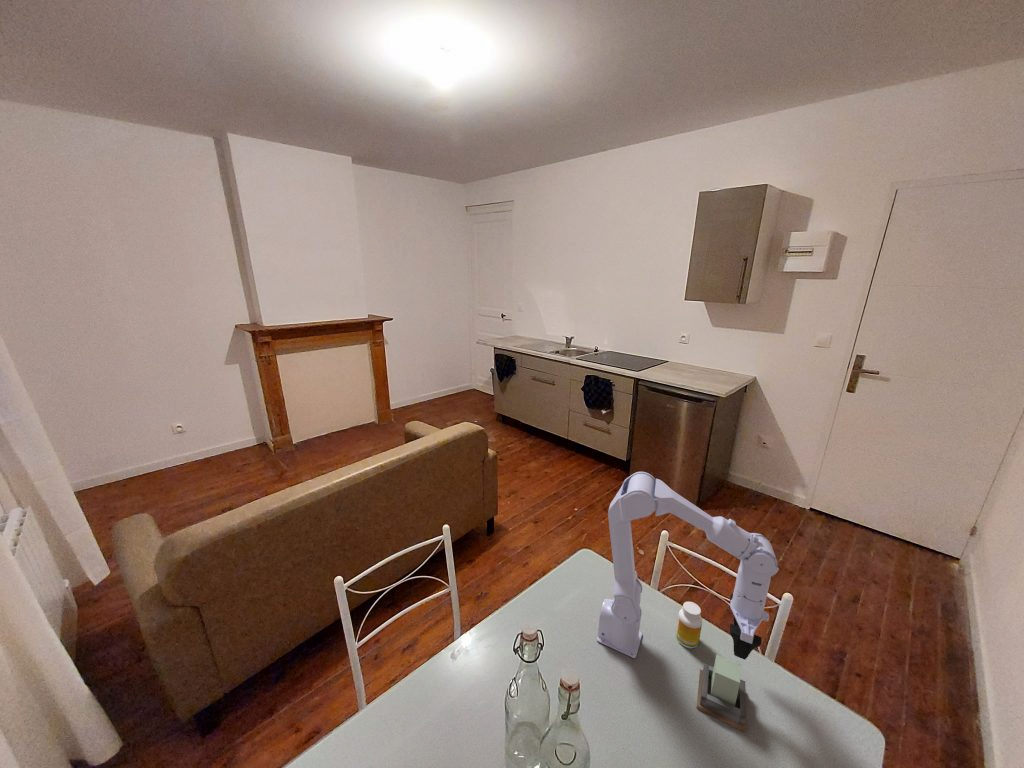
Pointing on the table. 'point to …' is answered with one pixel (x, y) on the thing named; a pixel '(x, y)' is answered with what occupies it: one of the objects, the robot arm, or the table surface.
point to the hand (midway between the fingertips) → (739, 642)
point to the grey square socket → (721, 702)
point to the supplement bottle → (689, 625)
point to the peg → (725, 680)
